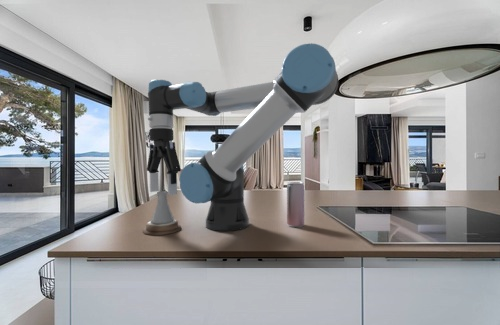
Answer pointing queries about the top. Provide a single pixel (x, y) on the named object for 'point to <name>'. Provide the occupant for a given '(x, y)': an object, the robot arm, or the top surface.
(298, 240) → the top surface
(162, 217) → the flask
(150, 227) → the pedestal
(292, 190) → the beverage can
